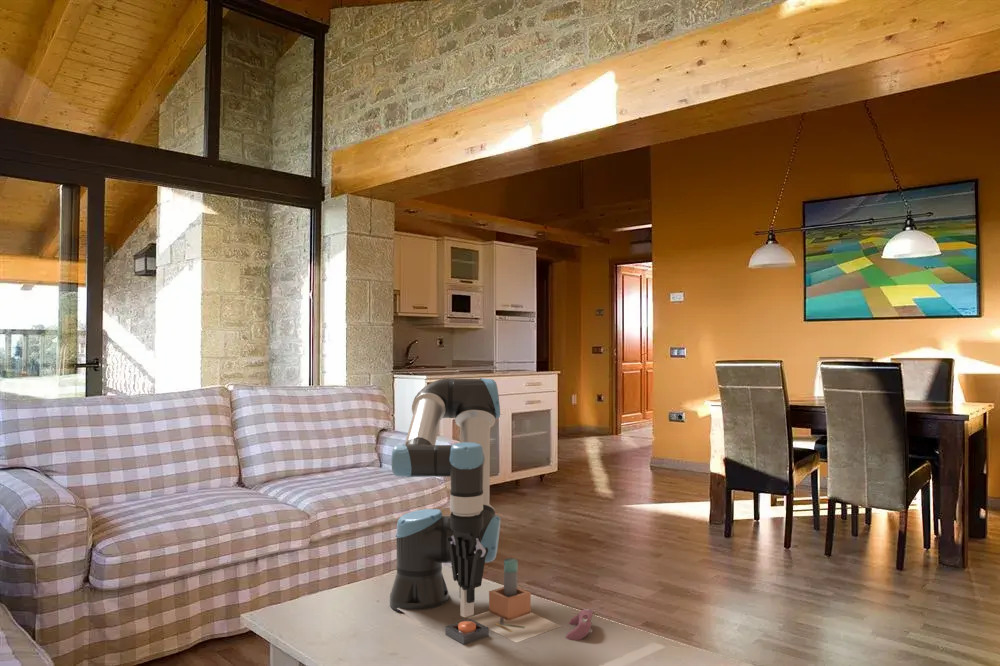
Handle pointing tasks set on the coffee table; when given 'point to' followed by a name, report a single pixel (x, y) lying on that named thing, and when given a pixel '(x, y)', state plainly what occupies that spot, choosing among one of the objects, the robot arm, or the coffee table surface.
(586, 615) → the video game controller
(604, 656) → the coffee table surface
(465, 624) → the button
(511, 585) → the marker
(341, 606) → the coffee table surface
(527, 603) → the pen cup
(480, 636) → the button housing
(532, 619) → the board
